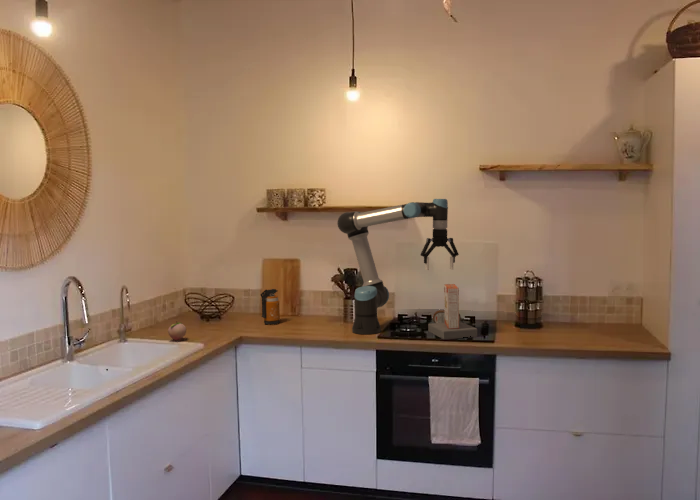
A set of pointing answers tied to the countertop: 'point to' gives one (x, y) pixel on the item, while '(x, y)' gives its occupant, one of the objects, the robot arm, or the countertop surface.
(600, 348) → the countertop surface
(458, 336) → the podium
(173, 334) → the decorative fruit
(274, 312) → the canister
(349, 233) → the robot arm
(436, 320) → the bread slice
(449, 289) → the cracker box
